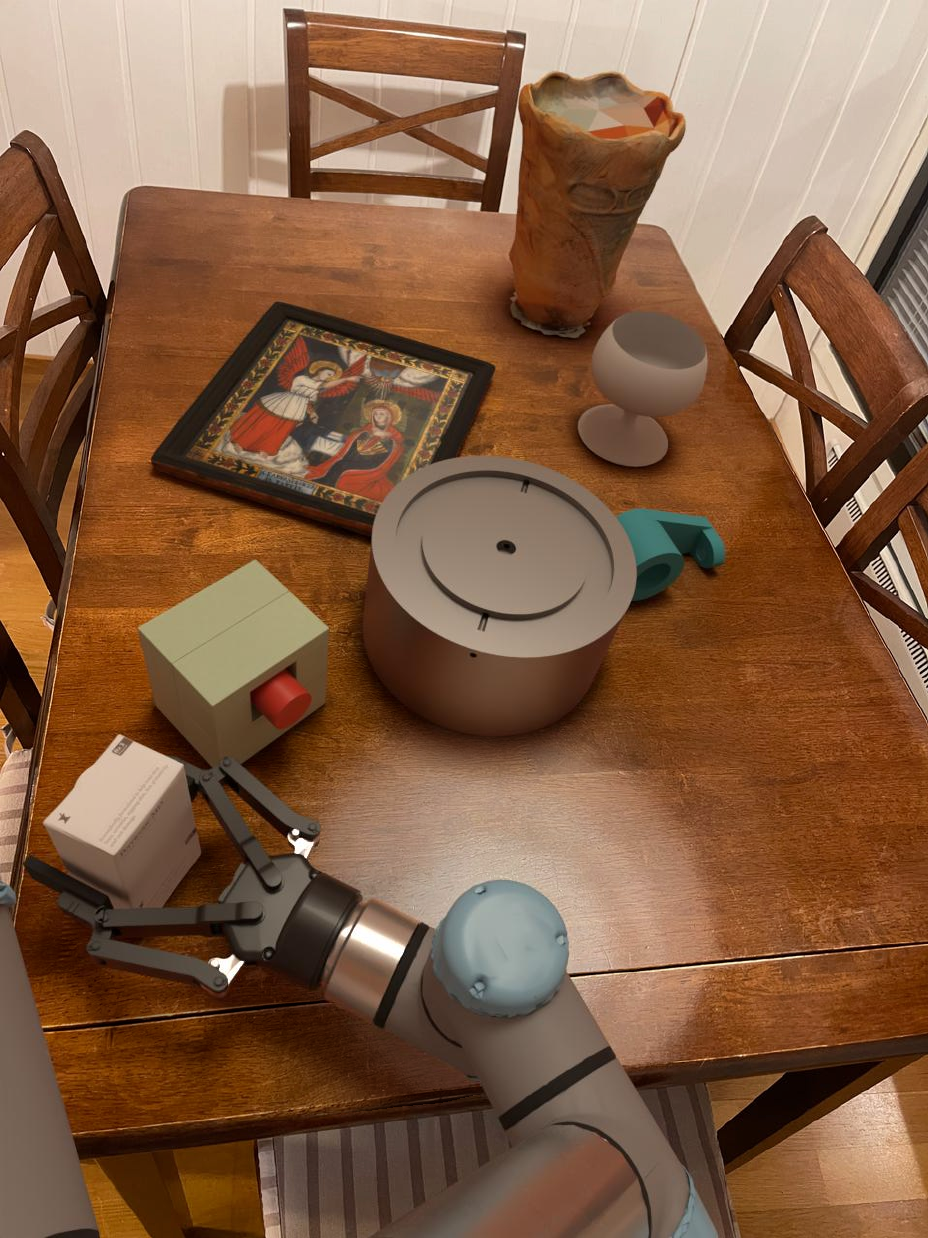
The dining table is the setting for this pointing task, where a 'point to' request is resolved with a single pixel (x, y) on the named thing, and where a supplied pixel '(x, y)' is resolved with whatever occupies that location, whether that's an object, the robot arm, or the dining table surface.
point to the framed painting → (324, 416)
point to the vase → (582, 190)
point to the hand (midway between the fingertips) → (78, 808)
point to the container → (493, 593)
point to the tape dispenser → (668, 546)
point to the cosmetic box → (128, 826)
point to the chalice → (642, 385)
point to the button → (281, 700)
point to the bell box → (232, 660)
